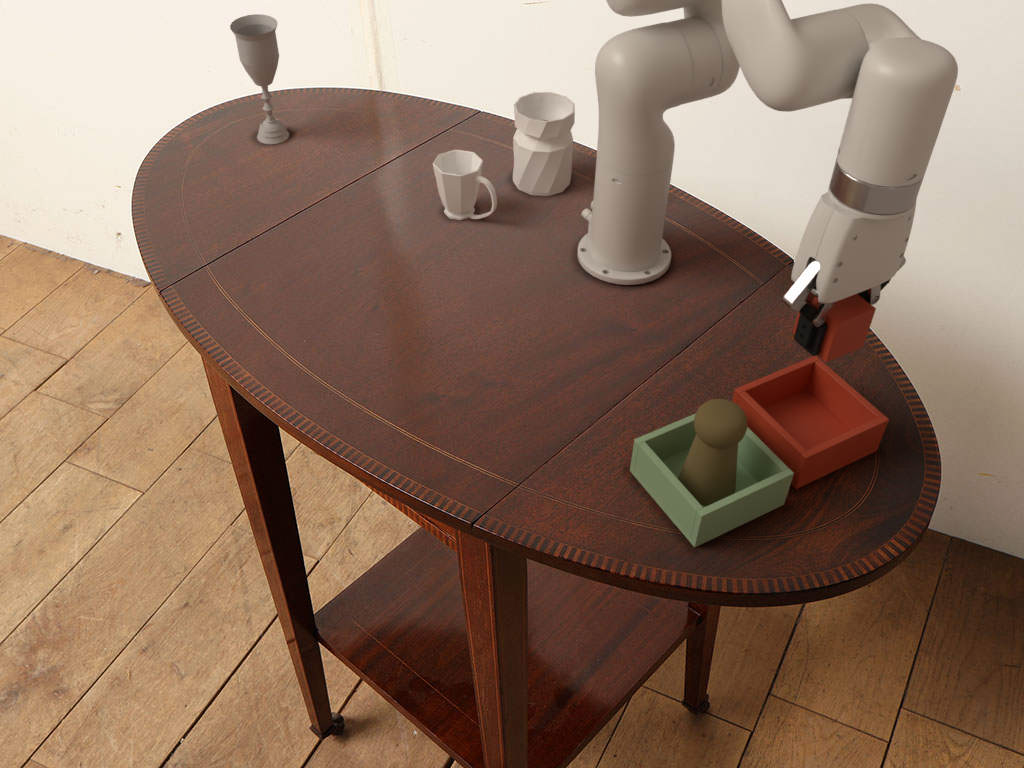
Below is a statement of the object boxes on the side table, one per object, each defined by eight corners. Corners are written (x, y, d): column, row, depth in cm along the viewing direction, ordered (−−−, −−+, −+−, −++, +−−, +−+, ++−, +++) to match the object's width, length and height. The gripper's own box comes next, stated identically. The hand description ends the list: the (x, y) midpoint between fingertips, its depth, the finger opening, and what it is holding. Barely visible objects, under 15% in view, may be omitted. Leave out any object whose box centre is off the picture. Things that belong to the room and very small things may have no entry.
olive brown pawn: (729, 462, 106) (747, 388, 99) (740, 506, 102) (760, 432, 94) (673, 463, 106) (687, 389, 98) (682, 507, 102) (697, 433, 94)
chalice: (253, 125, 158) (232, 15, 146) (296, 123, 159) (279, 13, 146) (249, 148, 153) (227, 36, 140) (293, 146, 153) (276, 34, 141)
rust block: (792, 333, 101) (802, 295, 97) (829, 319, 103) (840, 280, 99) (825, 362, 98) (837, 324, 94) (863, 347, 99) (876, 308, 96)
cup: (455, 192, 145) (454, 143, 139) (510, 216, 140) (511, 166, 135) (424, 213, 140) (421, 164, 135) (480, 239, 136) (479, 189, 131)
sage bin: (629, 470, 106) (634, 439, 102) (715, 433, 110) (722, 401, 107) (694, 547, 99) (701, 516, 95) (784, 504, 103) (794, 473, 99)
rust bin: (727, 420, 112) (734, 388, 108) (805, 386, 116) (815, 355, 112) (795, 489, 104) (805, 458, 101) (876, 451, 108) (889, 419, 105)
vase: (553, 202, 143) (557, 128, 135) (501, 185, 146) (502, 111, 138) (580, 174, 149) (586, 101, 140) (530, 158, 152) (532, 86, 143)
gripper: (913, 141, 93) (864, 293, 105) (772, 187, 87) (737, 343, 99) (975, 179, 88) (916, 333, 101) (831, 230, 82) (787, 388, 95)
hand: (828, 337), depth 100 cm, fingers closed on rust block, 5 cm apart
